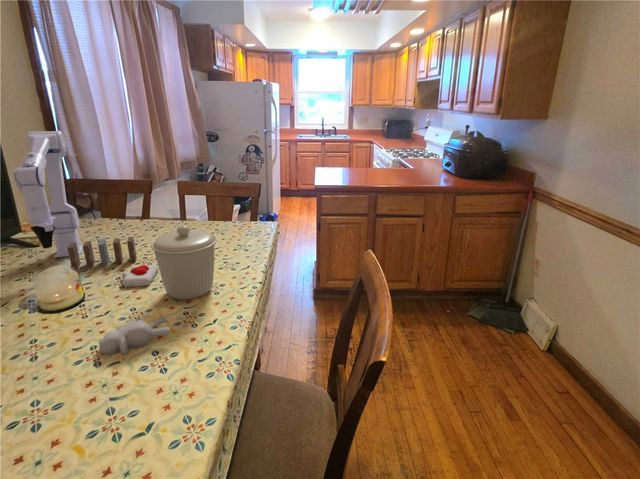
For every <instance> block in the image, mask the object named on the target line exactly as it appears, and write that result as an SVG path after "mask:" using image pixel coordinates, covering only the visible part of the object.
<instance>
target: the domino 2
mask: <svg viewBox="0 0 640 479" xmlns="http://www.w3.org/2000/svg"><path fill="white" fill-rule="evenodd" d="M82 245H83V249H82V251H83V253H84V259H85V264H86V266H87V269H88V268H93V267H94V265H95V263H96V260H95V255H94V254H95V253H94V250H93V246H92V241H91V240H86V241H84V243H83V244H82Z"/></svg>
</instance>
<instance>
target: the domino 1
mask: <svg viewBox="0 0 640 479" xmlns="http://www.w3.org/2000/svg"><path fill="white" fill-rule="evenodd" d="M67 249H68V253H69V256H68V257H69V261H70V265H71V268H72V267H73V268H75V269H74V270H78V269H79V267H80V265H81V260H80V255H79V254H78V249H77V245H76V242H73V243H70V244H69V246H68V247H67Z"/></svg>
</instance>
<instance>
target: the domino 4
mask: <svg viewBox="0 0 640 479" xmlns="http://www.w3.org/2000/svg"><path fill="white" fill-rule="evenodd" d="M126 243H127V251H128V255H129V260H130V264H132V263H133V264H134V263H137V253H136V252H137V251H136V246H135V239H134V236H128V237H127V241H126Z"/></svg>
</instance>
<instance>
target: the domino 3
mask: <svg viewBox="0 0 640 479" xmlns="http://www.w3.org/2000/svg"><path fill="white" fill-rule="evenodd" d="M121 244H122V243H121V239H120V237H118V238H117V237H116V238H113V241H112V247H113V253H114V257H115V264H116V265H122V263H123V260H124V256H123V250H122V245H121Z"/></svg>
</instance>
